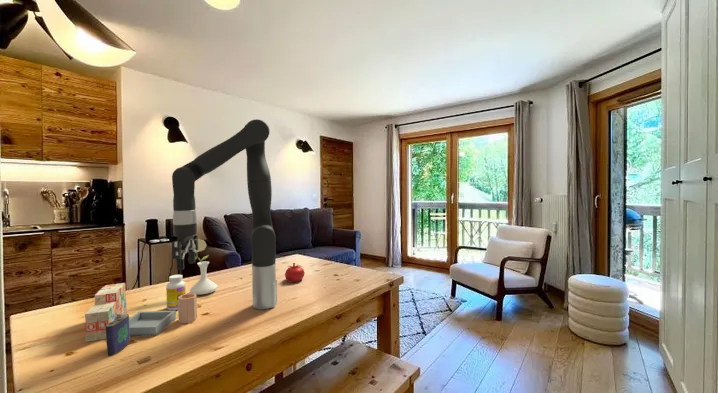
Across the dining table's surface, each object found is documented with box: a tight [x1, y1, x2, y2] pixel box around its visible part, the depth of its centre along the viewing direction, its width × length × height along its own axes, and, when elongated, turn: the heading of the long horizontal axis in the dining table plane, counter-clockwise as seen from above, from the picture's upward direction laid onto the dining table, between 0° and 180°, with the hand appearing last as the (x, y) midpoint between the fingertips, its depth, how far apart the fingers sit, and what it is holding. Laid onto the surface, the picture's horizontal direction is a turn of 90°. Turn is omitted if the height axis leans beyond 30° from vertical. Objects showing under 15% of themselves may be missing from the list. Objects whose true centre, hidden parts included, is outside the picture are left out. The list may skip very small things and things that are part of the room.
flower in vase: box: [189, 238, 218, 296], centre depth 144 cm, size 13×11×25 cm
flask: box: [106, 313, 131, 357], centre depth 96 cm, size 9×3×11 cm, turn 8°
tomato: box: [284, 262, 306, 283], centre depth 162 cm, size 10×10×9 cm
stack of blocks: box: [84, 282, 128, 343], centre depth 111 cm, size 21×6×12 cm, turn 24°
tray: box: [129, 310, 177, 338], centre depth 110 cm, size 13×13×3 cm
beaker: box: [177, 292, 198, 325], centre depth 116 cm, size 6×6×9 cm
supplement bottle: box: [166, 274, 187, 311], centre depth 127 cm, size 7×7×13 cm
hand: (186, 266), depth 115 cm, fingers open, 8 cm apart
